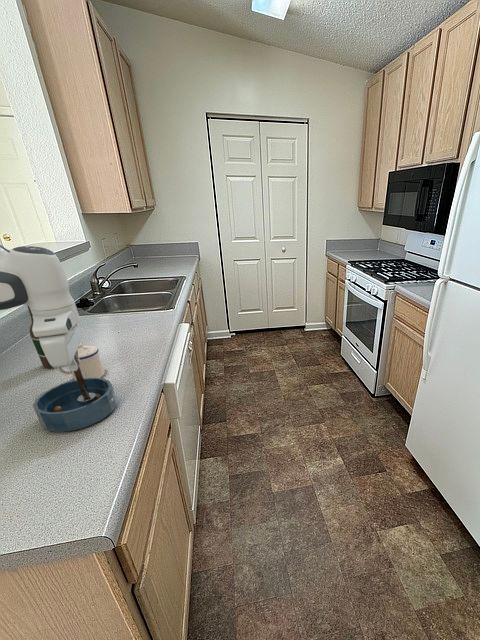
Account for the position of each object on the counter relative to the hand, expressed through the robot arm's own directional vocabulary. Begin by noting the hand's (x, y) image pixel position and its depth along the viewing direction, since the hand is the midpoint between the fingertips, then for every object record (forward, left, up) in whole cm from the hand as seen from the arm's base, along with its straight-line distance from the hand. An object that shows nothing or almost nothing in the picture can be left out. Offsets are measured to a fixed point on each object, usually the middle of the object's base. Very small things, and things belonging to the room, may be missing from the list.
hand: (75, 367), depth 86 cm
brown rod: (0, 0, -12) cm, 12 cm away
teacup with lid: (-4, +21, -13) cm, 25 cm away
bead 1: (-7, 0, -11) cm, 13 cm away
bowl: (-2, -1, -13) cm, 13 cm away
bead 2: (+2, +3, -11) cm, 12 cm away
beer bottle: (-15, +37, -13) cm, 42 cm away
